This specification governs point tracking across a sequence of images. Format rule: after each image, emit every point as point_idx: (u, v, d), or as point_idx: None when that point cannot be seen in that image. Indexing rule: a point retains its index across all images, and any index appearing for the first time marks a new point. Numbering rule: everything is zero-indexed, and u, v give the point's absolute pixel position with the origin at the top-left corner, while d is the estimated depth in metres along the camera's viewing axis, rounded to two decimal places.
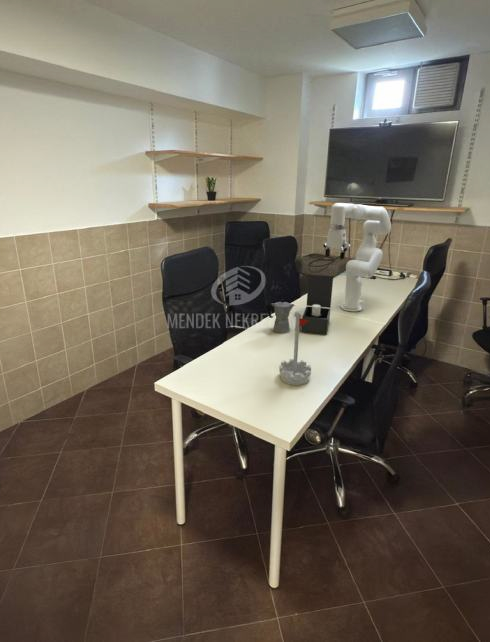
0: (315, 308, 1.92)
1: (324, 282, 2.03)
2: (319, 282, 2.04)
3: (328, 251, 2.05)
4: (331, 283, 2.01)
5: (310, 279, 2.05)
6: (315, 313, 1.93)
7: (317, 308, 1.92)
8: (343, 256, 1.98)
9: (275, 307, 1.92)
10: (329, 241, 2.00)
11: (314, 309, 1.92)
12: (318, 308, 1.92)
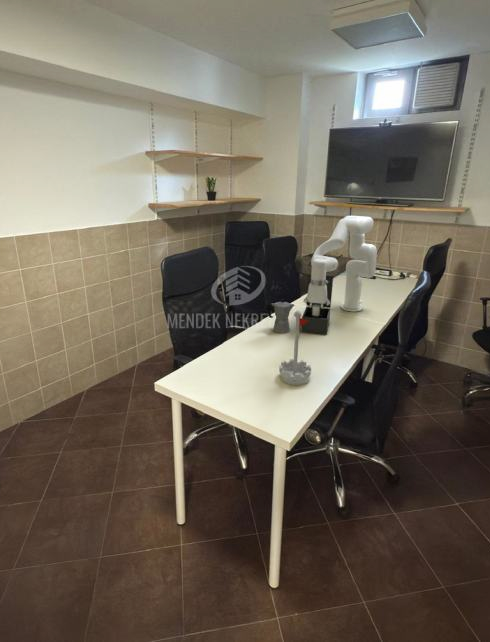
0: (315, 308, 1.92)
1: None
2: None
3: None
4: (331, 283, 2.01)
5: (310, 279, 2.05)
6: (315, 313, 1.93)
7: (317, 308, 1.92)
8: (322, 312, 1.93)
9: (275, 307, 1.92)
10: (311, 297, 1.90)
11: (314, 309, 1.92)
12: (318, 308, 1.92)
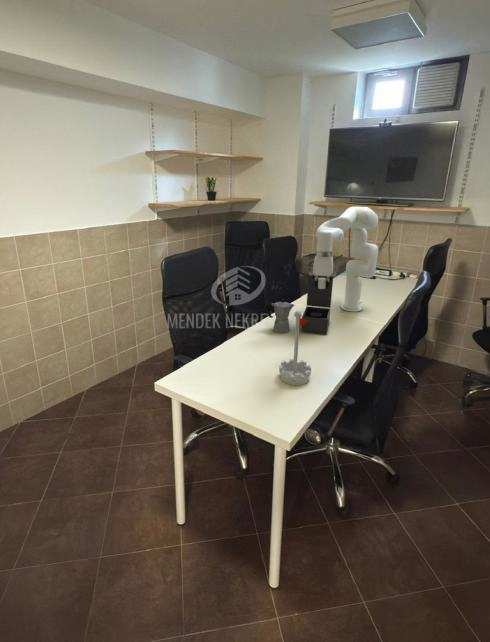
0: (321, 281, 1.87)
1: None
2: None
3: (317, 282, 1.90)
4: (331, 283, 2.01)
5: (310, 279, 2.05)
6: (321, 286, 1.88)
7: (323, 281, 1.87)
8: (328, 285, 1.88)
9: (275, 307, 1.92)
10: (317, 269, 1.86)
11: (320, 282, 1.88)
12: (324, 281, 1.87)
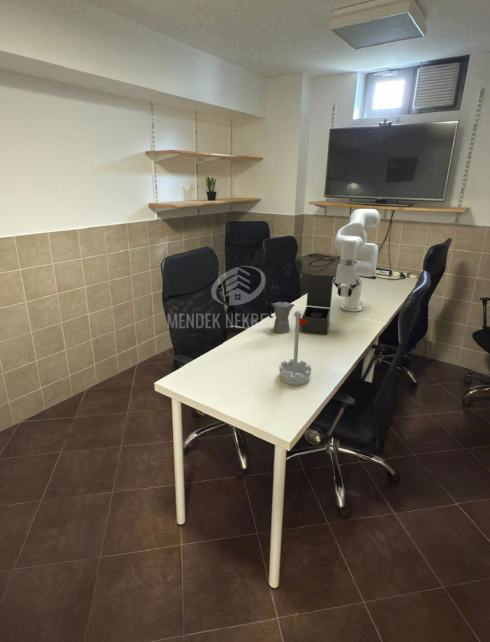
0: (344, 289, 1.87)
1: (324, 282, 2.03)
2: (319, 282, 2.04)
3: (340, 290, 1.90)
4: (331, 283, 2.01)
5: (310, 279, 2.05)
6: (344, 294, 1.88)
7: (346, 289, 1.87)
8: (351, 293, 1.88)
9: (275, 307, 1.92)
10: (340, 277, 1.86)
11: (343, 290, 1.88)
12: (347, 289, 1.87)
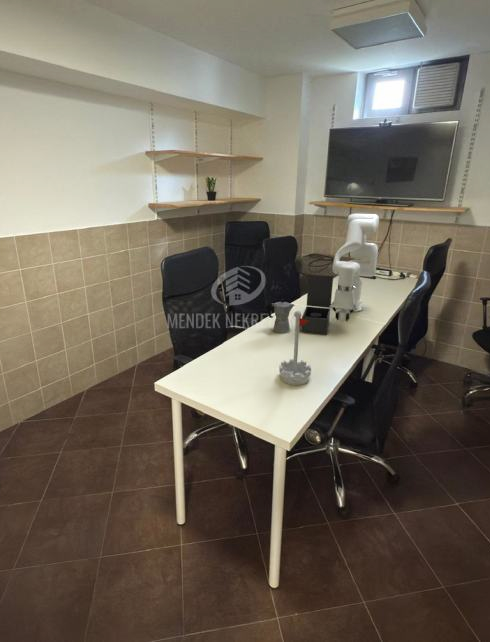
0: (342, 314, 1.91)
1: (324, 282, 2.03)
2: (319, 282, 2.04)
3: None
4: (331, 283, 2.01)
5: (310, 279, 2.05)
6: (342, 319, 1.92)
7: (344, 314, 1.91)
8: None
9: (275, 307, 1.92)
10: (338, 302, 1.90)
11: (340, 315, 1.92)
12: (345, 314, 1.91)
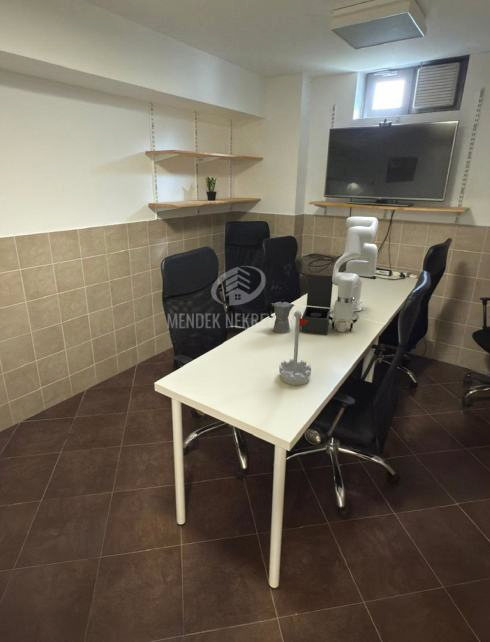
0: (341, 324, 1.93)
1: (324, 282, 2.03)
2: (319, 282, 2.04)
3: (334, 323, 1.97)
4: (331, 283, 2.01)
5: (310, 279, 2.05)
6: (341, 329, 1.94)
7: (343, 324, 1.93)
8: (352, 327, 1.94)
9: (275, 307, 1.92)
10: (337, 314, 1.92)
11: (340, 325, 1.94)
12: (344, 324, 1.93)
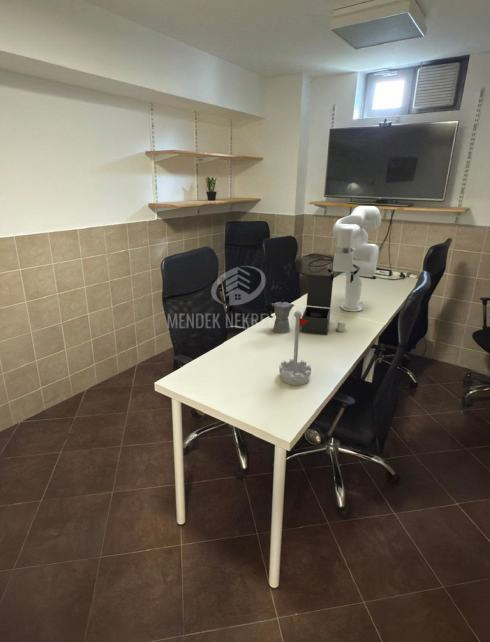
0: (341, 324, 1.93)
1: (324, 282, 2.03)
2: (319, 282, 2.04)
3: (333, 275, 1.93)
4: (331, 283, 2.01)
5: (310, 279, 2.05)
6: (341, 329, 1.94)
7: (343, 324, 1.93)
8: (353, 279, 1.89)
9: (275, 307, 1.92)
10: (337, 265, 1.88)
11: (340, 325, 1.94)
12: (344, 324, 1.93)
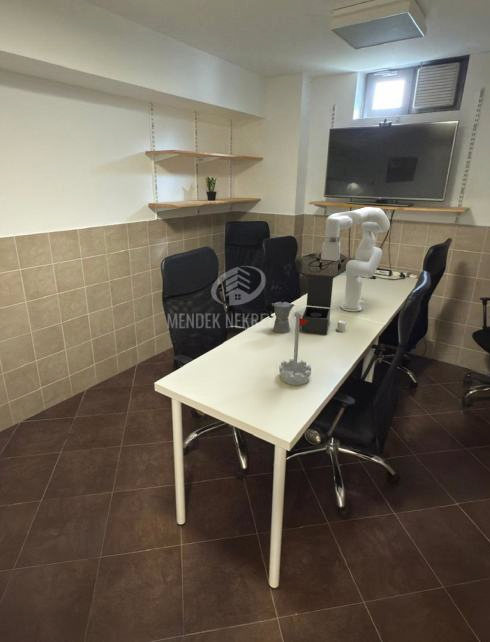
0: (341, 324, 1.93)
1: (324, 282, 2.03)
2: (319, 282, 2.04)
3: (321, 264, 2.03)
4: (331, 283, 2.01)
5: (310, 279, 2.05)
6: (341, 329, 1.94)
7: (343, 324, 1.93)
8: (340, 267, 2.00)
9: (275, 307, 1.92)
10: (325, 254, 1.98)
11: (340, 325, 1.94)
12: (344, 324, 1.93)
